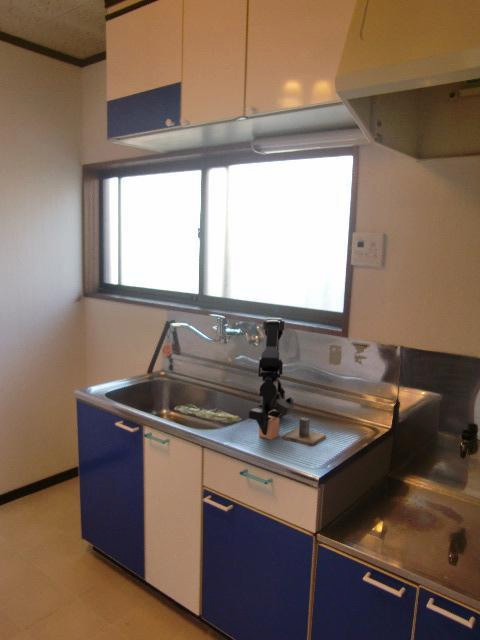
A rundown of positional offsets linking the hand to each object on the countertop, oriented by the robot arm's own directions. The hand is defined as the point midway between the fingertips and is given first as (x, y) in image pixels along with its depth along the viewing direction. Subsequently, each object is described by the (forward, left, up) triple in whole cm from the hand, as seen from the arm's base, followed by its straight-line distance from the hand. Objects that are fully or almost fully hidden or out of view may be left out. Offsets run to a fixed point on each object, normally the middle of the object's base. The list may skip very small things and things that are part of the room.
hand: (269, 432), depth 181 cm
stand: (+11, +6, -1) cm, 13 cm away
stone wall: (-33, +5, -2) cm, 33 cm away
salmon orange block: (0, 0, -1) cm, 1 cm away
